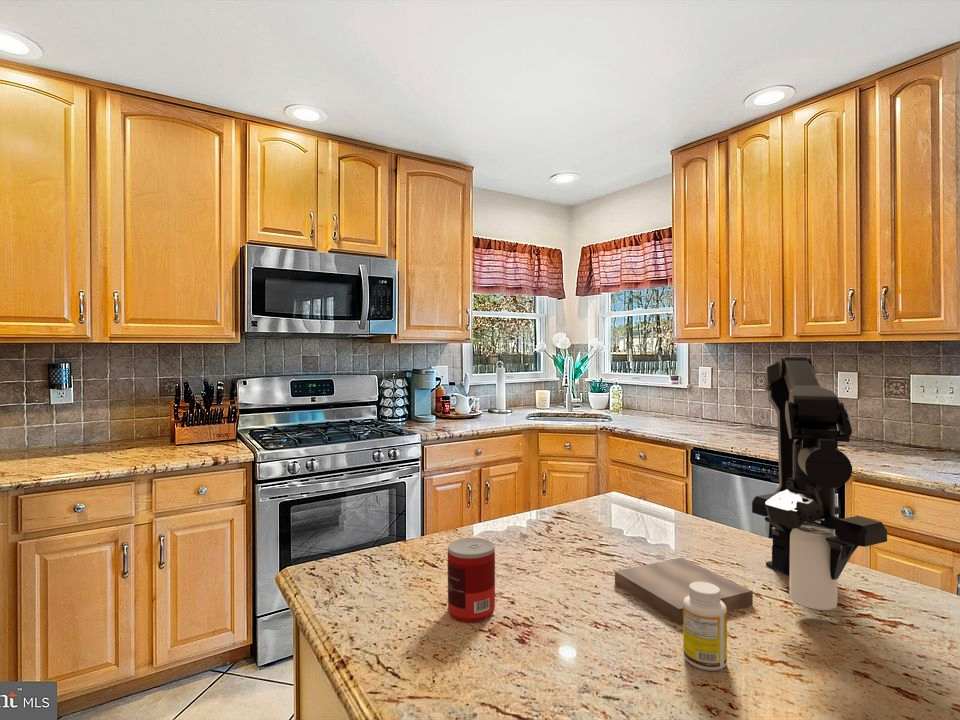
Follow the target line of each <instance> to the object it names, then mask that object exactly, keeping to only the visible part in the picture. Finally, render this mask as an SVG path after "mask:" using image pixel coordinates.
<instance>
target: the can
mask: <svg viewBox="0 0 960 720" xmlns="http://www.w3.org/2000/svg"><path fill="white" fill-rule="evenodd" d="M832 536H835V530H834V529H831V528H828V527H824V526H821V525H818V524H814V523H811V524H810V523H807V522H804V523H802V525H801V526H800V527H799V528H795V529H792V531H791V533H790V575H789V596H790V597H789V598H790V599H791V600H792V602H793V603H794V604H796V605H798V606H800V607H802V608H806V609H808V610H813V611H817V612H828V611H833V610H835V608H837V606H838V579H836V580H833V579H831V574H830V545H829V544H828V542H827V541H826V539H825V538H828V537H832Z"/></svg>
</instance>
